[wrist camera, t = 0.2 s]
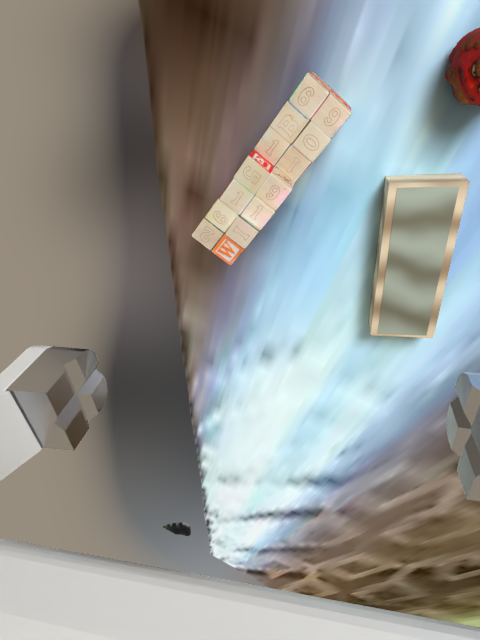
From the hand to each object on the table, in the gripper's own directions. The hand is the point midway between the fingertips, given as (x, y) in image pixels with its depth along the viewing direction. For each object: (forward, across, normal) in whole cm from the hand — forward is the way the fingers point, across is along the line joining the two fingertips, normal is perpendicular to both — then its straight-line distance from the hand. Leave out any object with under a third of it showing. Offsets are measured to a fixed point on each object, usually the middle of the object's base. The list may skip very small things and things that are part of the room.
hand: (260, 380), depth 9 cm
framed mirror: (+49, -13, +19) cm, 54 cm away
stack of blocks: (+49, +6, +5) cm, 50 cm away
